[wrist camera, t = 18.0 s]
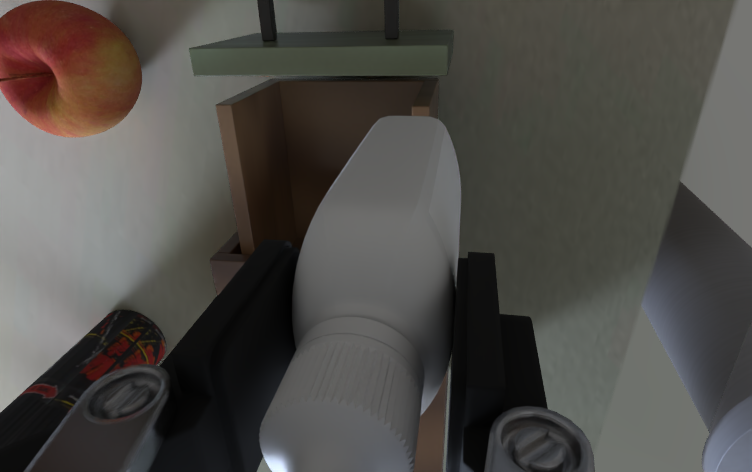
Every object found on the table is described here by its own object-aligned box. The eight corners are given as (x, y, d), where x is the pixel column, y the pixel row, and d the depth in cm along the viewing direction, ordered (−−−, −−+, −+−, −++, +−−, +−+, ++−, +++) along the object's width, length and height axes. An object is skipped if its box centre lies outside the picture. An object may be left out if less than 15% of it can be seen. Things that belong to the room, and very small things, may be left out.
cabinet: (273, 191, 34) (208, 259, 26) (456, 198, 32) (451, 275, 24) (295, 355, 41) (249, 452, 32) (448, 370, 39) (442, 477, 30)
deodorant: (160, 373, 44) (30, 537, 31) (99, 347, 44) (-58, 500, 31) (171, 327, 42) (33, 486, 28) (106, 299, 41) (-64, 446, 28)
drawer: (243, -66, 26) (163, -83, 19) (458, -77, 24) (453, -102, 18) (282, 238, 35) (236, 301, 28) (445, 247, 33) (438, 317, 26)
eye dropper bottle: (513, 157, 16) (603, 520, 5) (424, 283, 18) (360, 692, 8) (393, 88, 15) (218, 320, 5) (320, 226, 18) (104, 573, 7)
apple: (181, 113, 33) (102, 149, 26) (86, 121, 34) (-13, 157, 27) (146, -9, 29) (45, -7, 22) (43, 5, 31) (-82, 11, 24)
